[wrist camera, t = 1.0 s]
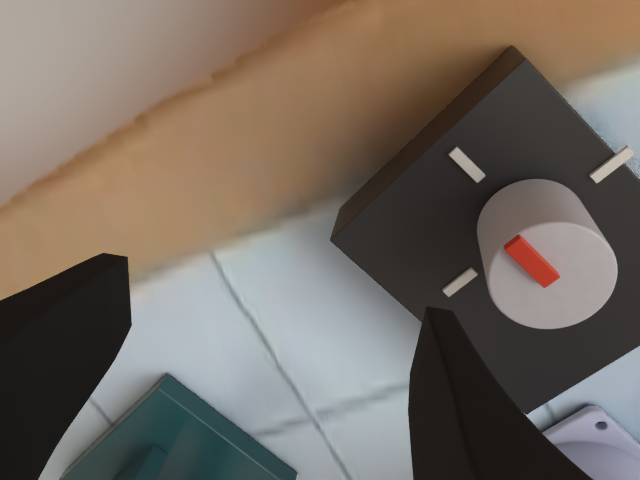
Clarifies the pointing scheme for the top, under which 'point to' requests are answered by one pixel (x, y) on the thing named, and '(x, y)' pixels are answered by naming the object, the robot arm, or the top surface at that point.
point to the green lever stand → (176, 444)
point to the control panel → (463, 213)
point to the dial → (544, 255)
